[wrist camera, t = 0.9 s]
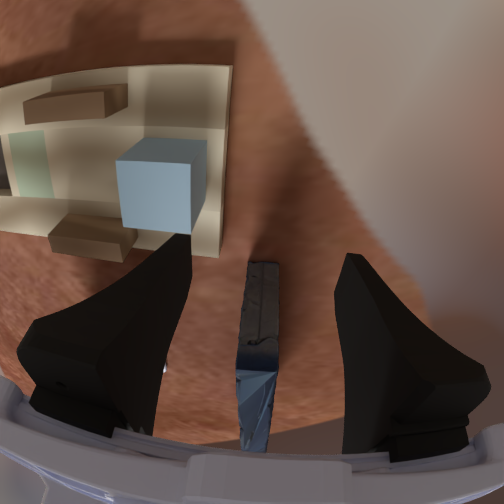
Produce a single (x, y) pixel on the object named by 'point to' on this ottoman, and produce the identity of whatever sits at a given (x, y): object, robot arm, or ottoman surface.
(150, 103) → the cream flat tray
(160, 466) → the robot arm
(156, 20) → the ottoman surface
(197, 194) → the blue block
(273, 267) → the vhs cassette tape
